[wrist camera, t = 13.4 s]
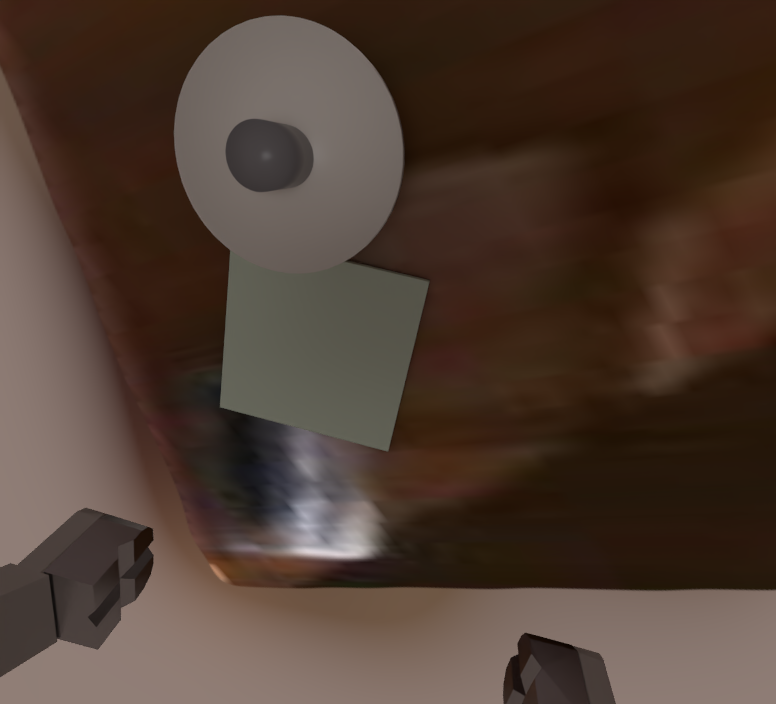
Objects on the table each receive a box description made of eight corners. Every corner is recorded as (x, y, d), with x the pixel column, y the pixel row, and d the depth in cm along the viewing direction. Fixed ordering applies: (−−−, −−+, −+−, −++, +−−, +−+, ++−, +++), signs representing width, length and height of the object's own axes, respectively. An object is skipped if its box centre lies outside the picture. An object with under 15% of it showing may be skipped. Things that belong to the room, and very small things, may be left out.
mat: (429, 280, 37) (429, 281, 36) (388, 447, 43) (388, 451, 43) (234, 233, 38) (231, 234, 37) (223, 403, 44) (220, 407, 44)
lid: (428, 47, 26) (419, 21, 21) (381, 290, 31) (366, 314, 27) (187, 0, 27) (126, -35, 22) (183, 244, 32) (134, 258, 28)
